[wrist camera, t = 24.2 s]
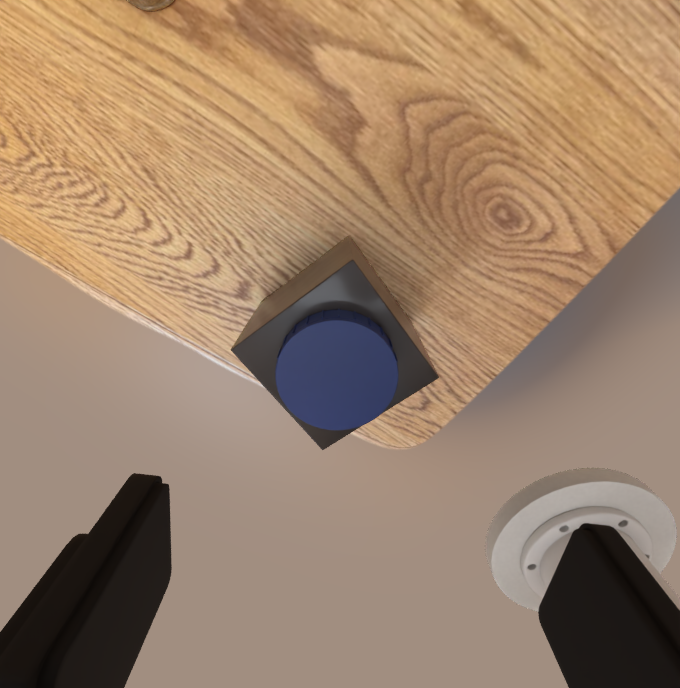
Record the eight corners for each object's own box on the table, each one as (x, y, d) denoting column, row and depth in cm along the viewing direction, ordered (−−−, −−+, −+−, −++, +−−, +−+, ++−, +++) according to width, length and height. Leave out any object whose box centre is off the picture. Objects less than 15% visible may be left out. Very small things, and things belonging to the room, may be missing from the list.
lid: (254, 351, 24) (248, 365, 23) (351, 284, 23) (352, 293, 21) (324, 432, 26) (323, 450, 25) (417, 376, 25) (423, 391, 23)
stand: (412, 323, 34) (439, 377, 25) (327, 381, 36) (322, 450, 27) (349, 235, 32) (352, 258, 22) (260, 302, 34) (229, 350, 24)
